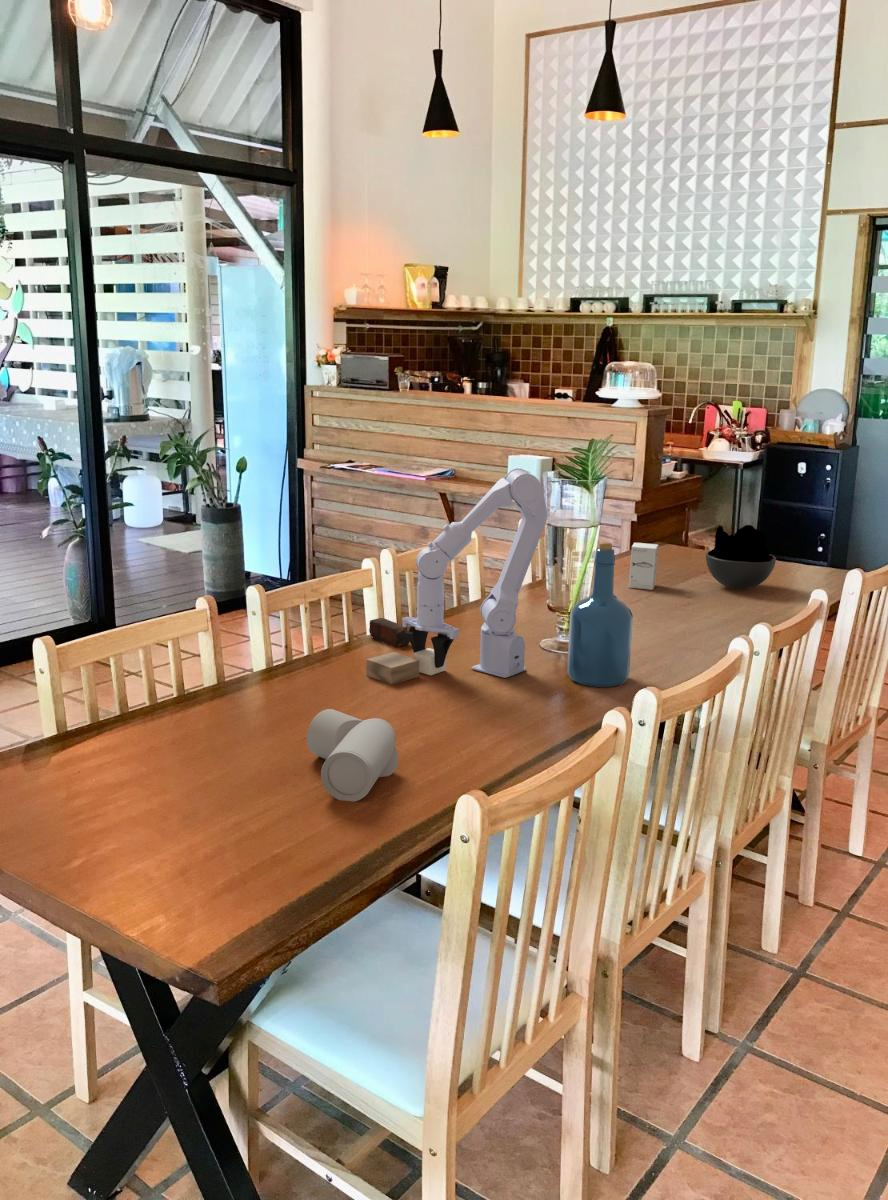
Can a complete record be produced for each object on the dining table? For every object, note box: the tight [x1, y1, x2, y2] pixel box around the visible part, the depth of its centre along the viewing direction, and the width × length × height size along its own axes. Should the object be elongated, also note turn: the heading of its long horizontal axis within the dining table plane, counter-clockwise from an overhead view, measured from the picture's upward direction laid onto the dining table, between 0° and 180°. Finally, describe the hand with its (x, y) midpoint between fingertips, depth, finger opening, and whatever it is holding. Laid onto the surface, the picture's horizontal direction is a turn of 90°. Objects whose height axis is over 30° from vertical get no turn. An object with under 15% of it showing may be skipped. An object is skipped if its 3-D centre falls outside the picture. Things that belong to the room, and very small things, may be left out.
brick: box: [368, 617, 410, 648], centre depth 247 cm, size 11×4×5 cm, turn 43°
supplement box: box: [628, 542, 659, 591], centre depth 306 cm, size 7×7×13 cm
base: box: [365, 651, 420, 686], centre depth 222 cm, size 8×8×4 cm
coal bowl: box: [705, 524, 777, 590], centre depth 305 cm, size 20×20×19 cm
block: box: [413, 647, 447, 676], centre depth 226 cm, size 5×5×4 cm
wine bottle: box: [566, 541, 634, 688], centre depth 220 cm, size 14×13×30 cm
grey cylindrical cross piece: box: [306, 708, 399, 803], centre depth 171 cm, size 18×11×20 cm
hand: (429, 664), depth 226 cm, fingers closed on block, 5 cm apart
